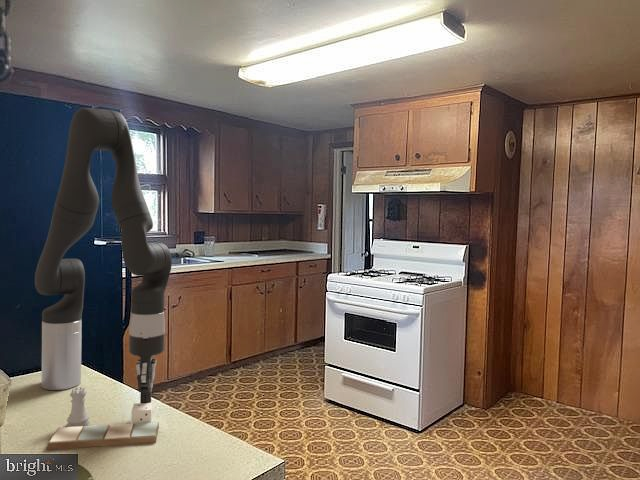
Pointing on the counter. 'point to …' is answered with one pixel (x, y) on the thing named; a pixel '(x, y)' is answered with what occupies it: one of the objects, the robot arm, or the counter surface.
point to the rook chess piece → (78, 409)
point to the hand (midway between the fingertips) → (145, 406)
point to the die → (142, 413)
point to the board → (104, 435)
